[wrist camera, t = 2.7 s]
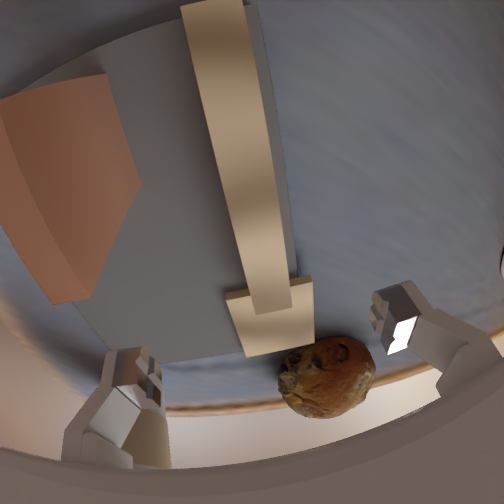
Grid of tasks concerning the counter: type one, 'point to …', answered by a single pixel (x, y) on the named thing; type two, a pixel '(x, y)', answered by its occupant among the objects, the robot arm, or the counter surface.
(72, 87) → the tile
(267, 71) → the mat
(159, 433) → the coffee cup
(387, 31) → the counter surface
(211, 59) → the spatula
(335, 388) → the bread roll
